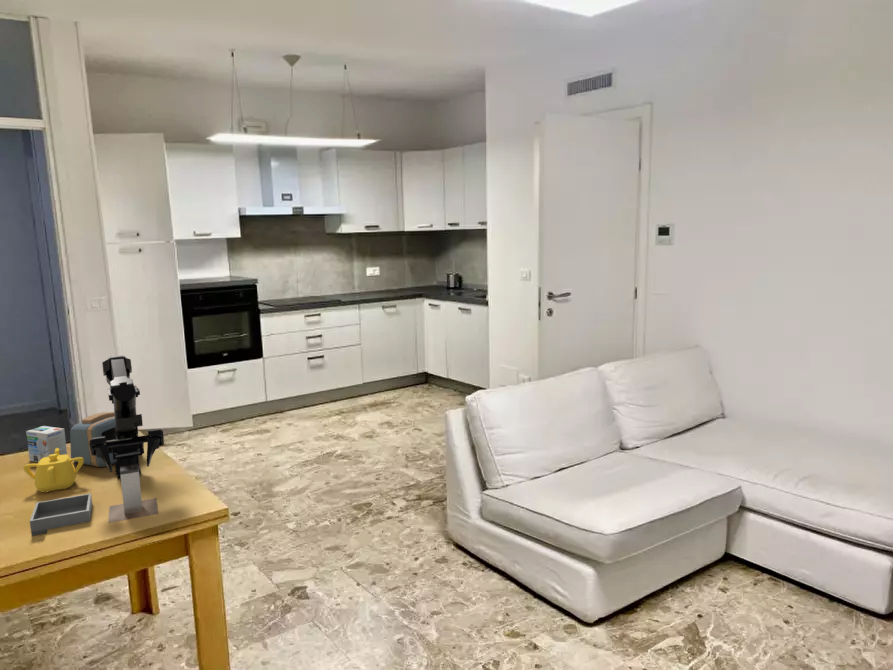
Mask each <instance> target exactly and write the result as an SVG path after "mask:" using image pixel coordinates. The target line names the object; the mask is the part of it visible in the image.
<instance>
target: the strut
mask: <svg viewBox="0 0 893 670" xmlns="http://www.w3.org/2000/svg"><path fill="white" fill-rule="evenodd" d="M120 476H121V478H120V484H121V492H122V504H123V505H124V514H130V513H135V512H141V511H142V500H143V499H142V491H141V481H140V475H139V468H138V464H135V465H128V466H122V467H120Z"/></svg>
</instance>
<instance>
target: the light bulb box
mask: <svg viewBox="0 0 893 670" xmlns="http://www.w3.org/2000/svg"><path fill="white" fill-rule="evenodd" d="M25 433H26V443H27V449H28V458H29V459H28V460H29V461H31V462H35V463H38V462H39V461H40V460H41V459H42V458H44V457H48V456H49V455H51V454H55V449H56V448H59V450H60V455H65V454H67V455H68V451H67V441H66V440H67V439H66V433H65V428H61V427H53V426H47V425H42V426H39V427H36V428H33V429H29V430H26V431H25Z"/></svg>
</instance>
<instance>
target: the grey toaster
mask: <svg viewBox="0 0 893 670" xmlns="http://www.w3.org/2000/svg"><path fill="white" fill-rule="evenodd" d="M114 431H115V415H114V411H105V412H104V411H103V412H97V413H93V414H91V415H88V416H86V417H84V418H82V419H81V422H79V423H76V424H74V425H73V426H72V427H71V429H70V431H69V434H70V435H69V436H70V437H69V438H70V439H69V441H70V459H73V458H77V457H82V458H84V463H83V465H87V466H91V467H92V466H93V467H97V468H105V467H107V465H106V463H105V462H104V460H103V459H102V458H101V457H99V458H98V457H97V455H96V456H93V455H91V450H90V445H89V441H90V439H91V438H96V437H103V436H105V438H106V441H109V440H114V439H113V433H114ZM108 453H109V457H110V461H111V465H113V464H115V461H117V459H115V460H113V454H112V447H110V448H108ZM115 454H116V453H115ZM73 463H77V464H78V461H73Z"/></svg>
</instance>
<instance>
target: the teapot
mask: <svg viewBox="0 0 893 670" xmlns="http://www.w3.org/2000/svg"><path fill="white" fill-rule="evenodd" d="M74 461H78V463H77V466H76V467H75V464H74ZM83 463H84V458H82V457H77V458H73V459H71V456H70V455H69V454H68V453H67V454H65V455H60V450H59V448H56V449H55V454H51V455H49V456H48V457H44V458H42V459H41V460H40V461H39V462H37V463H27V464H24V466H23V471H24V472H25V473H26V474H27V476H29V477H30V478H32V479H33V480H34V486H35V488H36V490H37V491H38V492H40V493H48V492H47V491H49V492H50V491H59V490H62V489H63V490H67V489H66V488H68V487H69V488H70V487H72V486H73V485H74V483H75V481H76V478H77V473H78V471H79V470H80V469H81V468H82V466H83V465H84V464H83ZM34 467H36V468H35V474H34V473H33V472H32V470H31V468H34ZM69 488H68V489H69Z"/></svg>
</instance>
